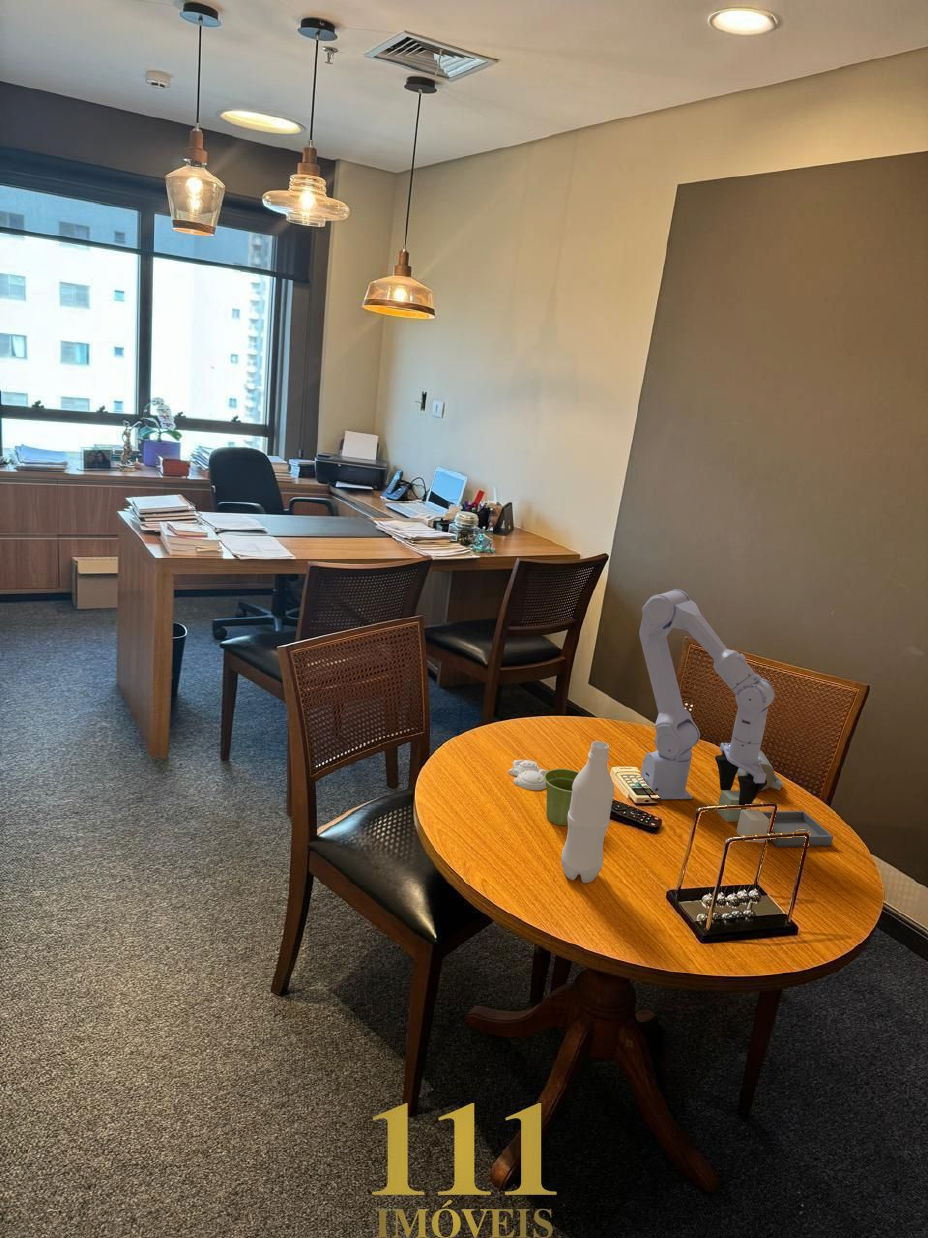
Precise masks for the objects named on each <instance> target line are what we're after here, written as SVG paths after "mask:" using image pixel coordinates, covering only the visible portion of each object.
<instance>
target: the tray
mask: <svg viewBox="0 0 928 1238" xmlns="http://www.w3.org/2000/svg"><path fill="white" fill-rule="evenodd" d="M760 811H761V810H760ZM775 811H776V817H775V820H774V825H773V829H772V831H771V833H774V834H775V833H793V832H808V830H809V831H810V832H808V833H809V834H810V833H811V835H810V836H809V848H811V847H813V846H814V847H816V846H818V847H831V846H832V843H833V839H834V835H833V834H831V833H830V832H829V831H828V830H827V829H825V828H824V827H823V826H822V825H821V824H820V823H819V822H817V820H815V819H814V818H813V817H812V816H811V815H809V814H808V813H807V812H806V811H805V810H775ZM761 812H762V813H763V814H764V815H765V816H766V817H767V818H768V819H769V820H770V818H771V815H772V811H769V810H767V811H765V810H763V811H761ZM769 823H770V822H769ZM768 827H769V826H768ZM798 829H806V830H798ZM796 830H798V831H796ZM767 833H768V831H767ZM805 839H806V838H805V837H792V838H776V839H771V840H769V841H770V842H771V843H772V844H773V845H774V846H775V848H804V847H803V845H804V843H805ZM810 846H811V847H810ZM814 847H813V848H814Z"/></svg>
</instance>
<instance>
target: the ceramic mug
mask: <svg viewBox="0 0 928 1238" xmlns="http://www.w3.org/2000/svg"><path fill="white" fill-rule="evenodd" d="M758 757H760V758H761V759H762V763H760V765H761V768H762V770H763V771H764V773H765V774H766V780H767V785H766V786H764V787H763V788H762V789H761V790H760V792H761V791H766V790H767V789H769V788H772V789H775V790H777V791H780V790H781V788H782V787H783V786H784V783H783V781H782V780H781V779H780V778H779V777H778V776H777V775H776V773H775V769H774V767H773V765H772V764H771V763H770V760H769V759H768V758H767V756H766V755H765V752H763V751H762V750H761V749H760V752H759V756H758ZM736 775H737V777H738V776H747V775H748V773H747V772H745V771H744V770H743V769H741V768H739V769H738V771H737V773H736Z"/></svg>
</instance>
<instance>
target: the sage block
mask: <svg viewBox="0 0 928 1238" xmlns="http://www.w3.org/2000/svg"><path fill="white" fill-rule="evenodd" d="M739 794H740V789H739V790H737V789H736V790H732V789H731V790H721V789H720V795H719V799H718V805H739ZM718 805H717V806H718ZM741 810H747V809H726V810H718V811H717V810H716V813H718V815H719V816H720V817H721V818H722V819H723V820H724V821H725V822H727V823H728V822H730V823H731V822H733V823H734V822H739V817H740V813H741Z"/></svg>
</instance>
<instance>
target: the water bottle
mask: <svg viewBox="0 0 928 1238" xmlns="http://www.w3.org/2000/svg"><path fill="white" fill-rule="evenodd" d="M609 750H610V745H609V744H608V743H606V742H604V741H600V740H595V741H592V742H591V745H590V749H589V752H588V754H587V757H588V758H587V762H586V764H584V766H583V767H582V769H581V770H580V771H578V772H579V774H578V775H577V776H576V778H575V780H574V782H573V785H572V796H571V803H570V809H569V811H568V817H567V818H568V826H567V833H566V834H567V836H566V840H565V844H564V845H563V847H562V849H561V851H562V852H561V856H560V857H561V858H560V859H561V860H560V862H561V866H562V868H563V872H564V874H565V876H566V878H567V879H569V880H571V881H574V880H576V878H577V877H578V876H579V875H580V880H581V881H582V882H581V883H584V884H588V883H591V882H592V881H594V880H595V879H596V877H597V876H599V874H600V873H601V871H602V869H603V863H604V852H603V851H604V840H605V836H606V832H607V830H608V827H609V826H610V821H611V820H610V817H611V813H612V804H613V799H614V796H615V786H614V785H615V784H614V782H613V779H612V776H611V773H610V771H609V769H608V768H609V767H608V761H610V757H609V756H610V754H609V752H610V751H609Z"/></svg>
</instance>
